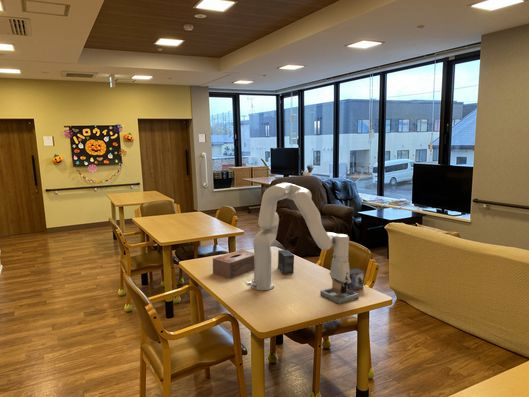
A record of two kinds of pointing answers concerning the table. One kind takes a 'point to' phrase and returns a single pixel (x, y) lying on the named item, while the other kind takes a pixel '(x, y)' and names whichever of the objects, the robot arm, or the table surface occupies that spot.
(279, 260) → the small box
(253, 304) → the table surface
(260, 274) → the robot arm
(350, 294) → the tray
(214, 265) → the tissue box cover
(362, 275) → the small box
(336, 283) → the block
